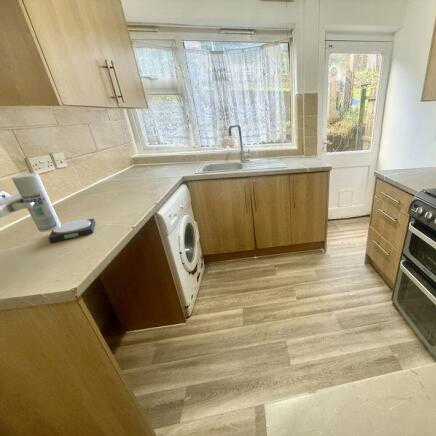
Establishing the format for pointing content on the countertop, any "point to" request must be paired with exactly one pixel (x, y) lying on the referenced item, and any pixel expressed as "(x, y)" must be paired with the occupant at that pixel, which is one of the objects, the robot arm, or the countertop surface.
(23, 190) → the spray can
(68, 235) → the kitchen scale
